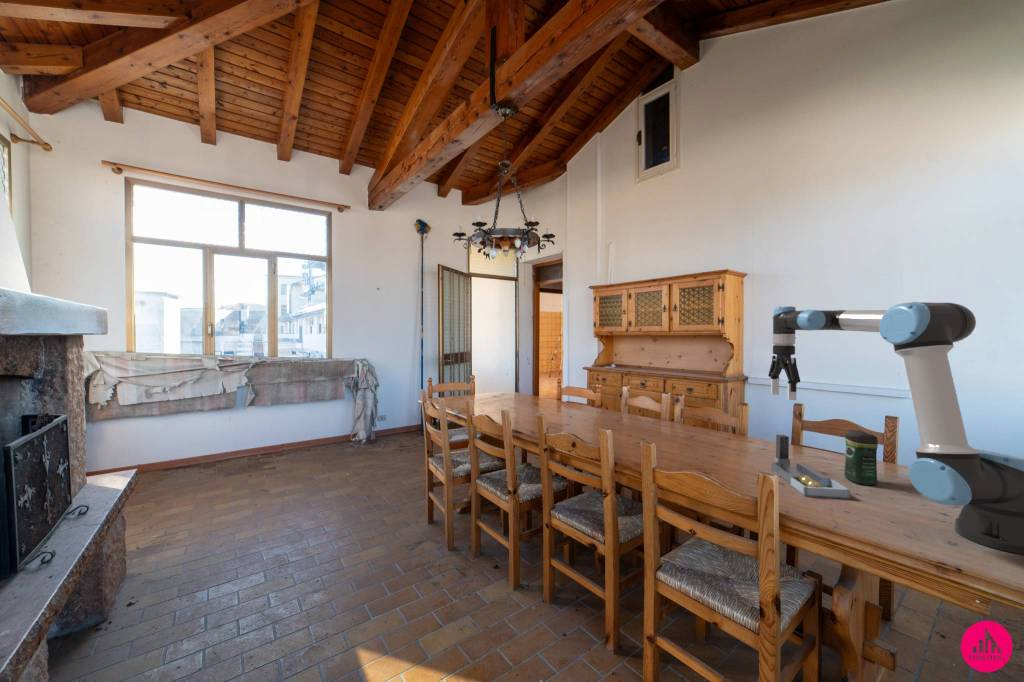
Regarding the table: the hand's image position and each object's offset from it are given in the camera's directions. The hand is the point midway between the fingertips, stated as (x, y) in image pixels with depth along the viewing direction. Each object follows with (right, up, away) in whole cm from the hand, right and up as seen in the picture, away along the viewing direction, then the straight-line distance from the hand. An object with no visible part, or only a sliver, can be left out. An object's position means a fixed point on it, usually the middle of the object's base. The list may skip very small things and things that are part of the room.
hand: (783, 397), depth 163 cm
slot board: (-2, -29, -12) cm, 32 cm away
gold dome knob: (-7, -27, -24) cm, 37 cm away
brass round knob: (-6, -27, -20) cm, 34 cm away
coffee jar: (+19, -29, -14) cm, 38 cm away
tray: (-4, -29, -24) cm, 38 cm away
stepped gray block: (0, -29, +1) cm, 29 cm away
